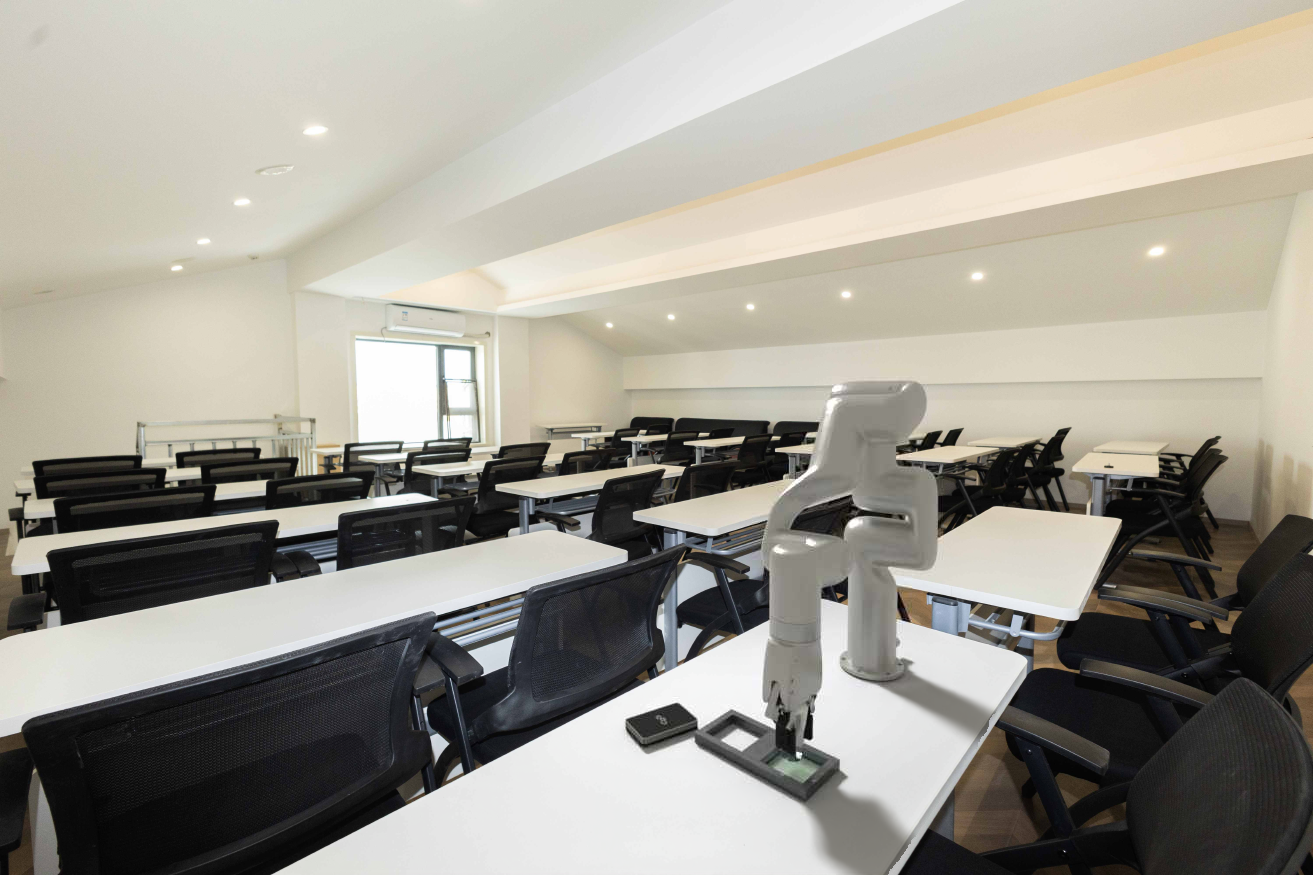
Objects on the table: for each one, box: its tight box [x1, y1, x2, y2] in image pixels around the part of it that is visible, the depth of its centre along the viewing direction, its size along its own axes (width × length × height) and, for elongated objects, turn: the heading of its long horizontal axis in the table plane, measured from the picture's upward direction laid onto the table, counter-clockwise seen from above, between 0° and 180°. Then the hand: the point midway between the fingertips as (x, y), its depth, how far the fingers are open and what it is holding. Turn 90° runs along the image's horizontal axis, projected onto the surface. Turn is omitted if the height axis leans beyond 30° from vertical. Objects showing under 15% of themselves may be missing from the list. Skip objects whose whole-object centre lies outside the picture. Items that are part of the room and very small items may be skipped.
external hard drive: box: [624, 702, 699, 748], centre depth 102 cm, size 7×11×2 cm, turn 120°
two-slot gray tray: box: [694, 708, 841, 803], centre depth 94 cm, size 10×21×2 cm, turn 45°
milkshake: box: [780, 695, 814, 763], centre depth 90 cm, size 4×5×10 cm
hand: (794, 741), depth 90 cm, fingers closed on milkshake, 4 cm apart
